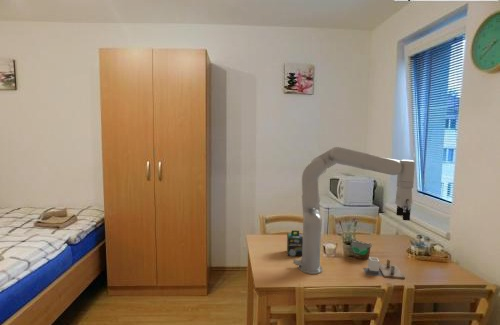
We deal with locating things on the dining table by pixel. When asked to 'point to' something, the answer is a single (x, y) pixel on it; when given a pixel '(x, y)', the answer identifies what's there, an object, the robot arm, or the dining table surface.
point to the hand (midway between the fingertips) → (402, 217)
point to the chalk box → (294, 244)
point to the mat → (371, 273)
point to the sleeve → (373, 265)
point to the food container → (361, 250)
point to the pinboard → (390, 271)
